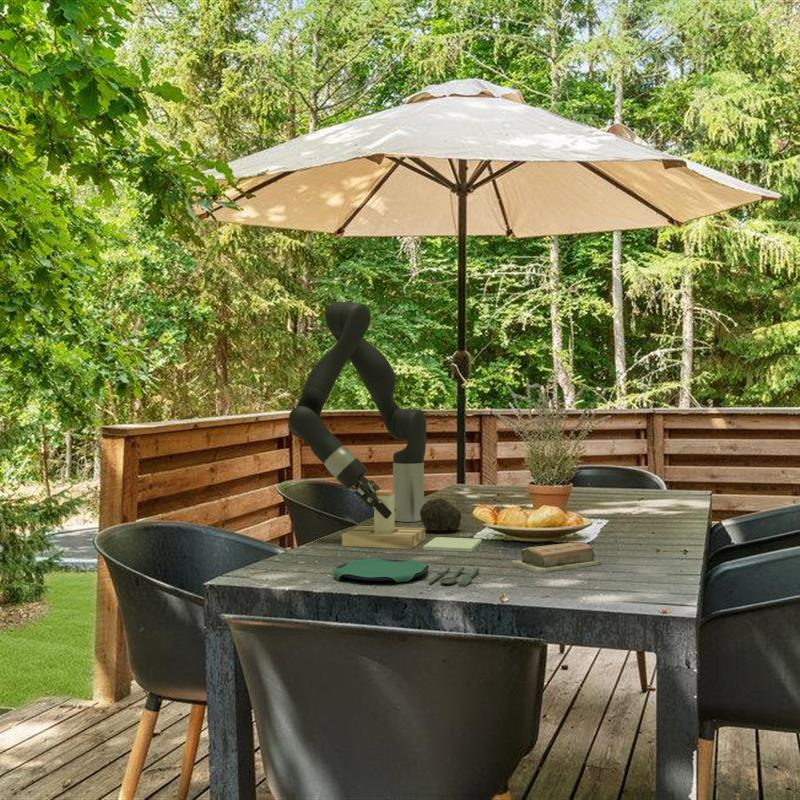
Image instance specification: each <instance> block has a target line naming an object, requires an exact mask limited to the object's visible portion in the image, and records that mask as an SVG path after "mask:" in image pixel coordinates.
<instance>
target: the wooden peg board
mask: <svg viewBox="0 0 800 800" xmlns="http://www.w3.org/2000/svg"><path fill="white" fill-rule="evenodd" d="M425 540H426V528H425V527H404V526H403V527H401V526H398V527H397V526H395V533H393V534H392V533H374V525H368V526H367V525H358V526H356V527H353V528H352V529H350V530H347V531H345V532H343V533H342V534H341V546H342V547H356V548H359V547H360V548H379V549H380V548H381V549H398V550H399V549H400V550H401V549H403V550H405V549H406V550H412V549H413V548H415V547H417V546H418V545H419V544H421V543H422V542H424V541H425Z"/></svg>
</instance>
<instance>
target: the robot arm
mask: <svg viewBox="0 0 800 800" xmlns="http://www.w3.org/2000/svg"><path fill="white" fill-rule="evenodd" d="M371 318H372V317H371V311H370V309H369V308H368V307H367V306H366V305H365V304H363V303H361V302H353V301H351V302H349V301H336V302H332V303H331V304H330V305H328V307H327V308H326V310H325V322H326V327H327V328H328V330H329V332H330V333H331V335H332V336H333V338H334V339H335V340H336V343H335V344H334V345H333V346H332V348H331V349H330V350H329V351H328V352H326V354H325V355H324V356H322V357H321V358H320V360H318V361H317V362H316V363H315V364H314V366H313V367H312V369H311V371H310V373H309V374H308V377H307V379H306V380H305V383H304V385H303V387H302V390H301V395H300V398H299V400H298V402H297V405H296V406H295V407H294V408H292V410H291V411H290V413H289V415H288V425H287V426H288V429H289V432H290V433H291V434H292V435H293V436H294V437H296V438H300V439H303V440H304V441H305V443H307V445H309V447H310V450H311V452H312V453H313V454H314V455H315V457H317V458H318V460H319V461H320V462H321V463H322V464H323V465H324V466H325V467H326V468H327V471H328V472H329V473H330V474H331V475H333V477H334V478H336V480H337V481H338V482H339V483H340V484H341V485H342V486H343V487H344V489H346V490H347V491H348V490H350V489H352V488H353V487H354V488H355V489H356V490H355V491H354V493H355V495H356V496H358V497H359V498H360V499H361V500H362V501H363V502H365V504H366V505H368V507H369V508H371V509H373V510H374V509H376V510H377V511H378V512H379V513H380V514H381V515H382V516H383V517H384V518H385V519H387V518H388V517H389V516H390V515H391V514H392V512H391V511H390V510H389V509H388V508H387V507H386V506H385V505H384V504H383V503H382V501H381V500H380V499H379V498H378V497H377V493H376V491H378V490H382V489H381V488H380V487H379V486H378V484H377V483H376V482H375V481H374V480H373V479H367V478H366V474H367V473H368V471H369V469H368V468H367V466H366V465H365V464H364V463H363V462H362V461H361V460H360V459H359V458H358V457H357V456H356V455H355V454H354V453H353V451H351V450H350V449H348V448H347V447H346V446H345V445H344V444H342V442H341V441H340V440H339V439H338V438H337V437H336V436H335V435H334V434H333V433H331V431H330V430H329V429H328V428H327V426H326V425H325V424H324V422H323V420H322V419H321V418H320V416H321V414H322V410H323V408H324V405H325V404H326V402H327V400H328V399H329V396H330V394H331V392H332V390H333V388H334V385H335V383H336V381H337V379H338V377H339V375H340V373H341V372H342V370H343V369H344V366H345V365H346V364H347V362H348V361H350V362H351V363H352V365H353V367H354V369H355V370H356V372H357V374H358V376H359V378H360V380H361V381H362V384H363V385H364V387H365V388H366V390H367V392H368V393H369V395H370V396H371V398H372V400H373V401H374V403H375V406H376V408H377V410H378V412H379V414H380V416H381V418H382V421H383V424H384V426H385V427H386V430H387V432H388V433H389V435H390V436H391V437H392V438H393V439H396V440H406V441H407V443H406V446H405V447H404V448H402V449H401V450H399V451H396V452H394V453H393V455H392V476H393V477H392V483H393V485H392V488H393V489H392V490H395V522H402V523H406V522H407V523H412V522H413V523H415V522H422V520H421V516H420V511H421V508H422V506H423V505H424V504H425V454H426V450H427V446H426V445H427V444H426V443H427V427H428V426H427V418H426V414H425V412H424V411H423V410H421V409H417V408H401V407H399V406H398V404H397V403H396V401H395V398H394V395H395V389H396V385H397V378H396V376H397V375H396V373H395V371H394V369H393V367H392V366H391V364H390V362H389V360H388V359H387V358H386V356H385V355H384V354H383V353H382V352H381V351H380V350H378V348H376V347H375V346H374V345H372V344H371V343H370V342H369V341H367V339H365V335H366V334H367V331H368V329H369V327H370V325H371V320H372V319H371Z"/></svg>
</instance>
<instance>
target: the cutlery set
mask: <svg viewBox="0 0 800 800" xmlns="http://www.w3.org/2000/svg"><path fill="white" fill-rule="evenodd" d="M429 567H430V566H429V565H428V564H426V563H424V562H421V561H419V560H402V559H380V558H364V559H354V560H350V561H349V562H344V563H343V564H340V565H337V567H335V568H334V569H333V571H332V572H333V573H332V574H333V576H334V579H336V580H338V581H340V577H341V576H342V577H344V578H347V579H352V580H353V579H354V580H360V581H371V582H373V581H375V582H376V581H377V582H385V581H389V582H390V581H395V582H396V583H403V582H409V581H411V580H413V578H418V577H421V576H422V575H424V574H427V572H428V570H429ZM450 571H451V568H450V567H446V568H445V570H443V571H439V572H437V573H436V574H437V575H434V576H433V577H432V578H431V579H429V581H428V583H429V585H431V584H433V583H434V582H436V581H437V580H438V579H440V581H439V582H440V583H441V584H443V585H453V584H455V583H457V580H458V578H457V576H458V575H459V574H461V572H464V571H465V567H464V566H460V567H459V568H458V569H457V570H456V571H455V572H454V574H453V575H452V576H448V577H443V576H444V574H445V573H446V572H450ZM478 573H480V567H476V568H474V569H473V570H472V571H471V573H470V574H469V575H468V574H467V575H465V576H462V577H461V580H460V581H459V583H458V584H457V585H458V586H467V585H468V584H470V583H472V580H473V579H474V577H475V576H476V575H477V574H478Z"/></svg>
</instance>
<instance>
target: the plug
mask: <svg viewBox="0 0 800 800" xmlns="http://www.w3.org/2000/svg"><path fill="white" fill-rule="evenodd" d="M376 493H377V497H378V498H379V499H380V500H381V501H382V503H383V504H384V505H385V506H386V507H387V508H388V509H389V510H390V511H391V512H392V514H391V515H390V516H389V517H388V518H387V519H385V518H384V517H383V516H382V515H381V514H380V513H379V512H378V511H377V510H376V509H374V508H373V526H374V533H392V534H393V533H395V527H396V525H395V522H396V521H395V490H393V489H381V490H378V491H376Z"/></svg>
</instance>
